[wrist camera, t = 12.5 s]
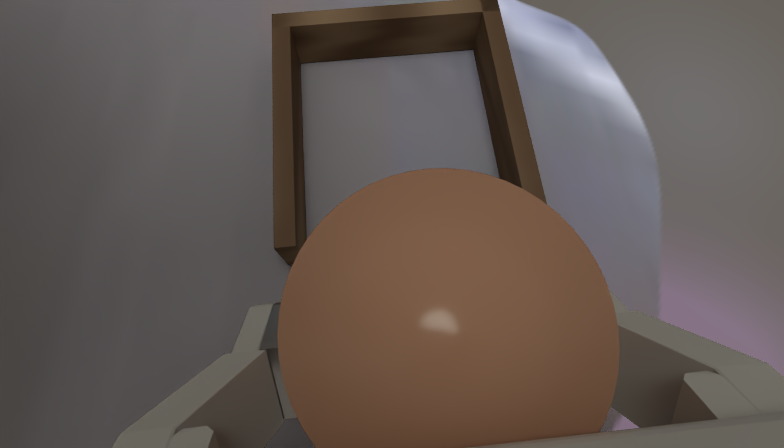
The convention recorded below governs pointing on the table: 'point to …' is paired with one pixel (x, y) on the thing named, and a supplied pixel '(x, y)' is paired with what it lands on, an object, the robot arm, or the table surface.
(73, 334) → the table surface
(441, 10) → the frame
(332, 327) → the terracotta canister
